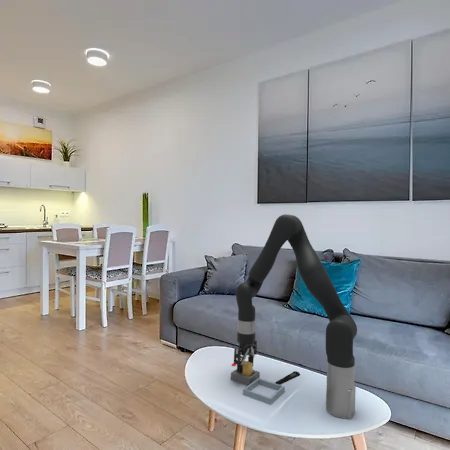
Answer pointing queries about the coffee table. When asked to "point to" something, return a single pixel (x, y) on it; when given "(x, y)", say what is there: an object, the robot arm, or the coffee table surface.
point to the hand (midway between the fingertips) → (245, 369)
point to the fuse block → (244, 377)
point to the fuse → (247, 368)
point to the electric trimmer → (288, 377)
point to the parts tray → (263, 398)
